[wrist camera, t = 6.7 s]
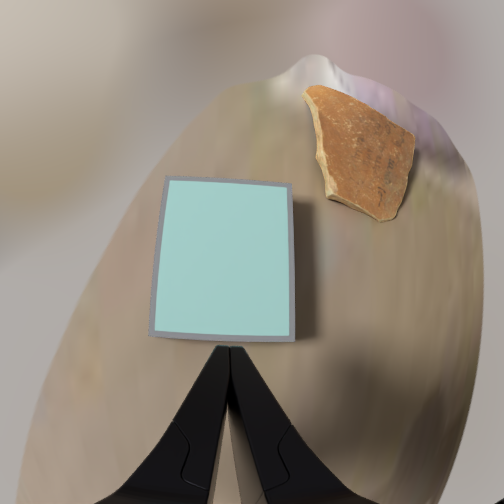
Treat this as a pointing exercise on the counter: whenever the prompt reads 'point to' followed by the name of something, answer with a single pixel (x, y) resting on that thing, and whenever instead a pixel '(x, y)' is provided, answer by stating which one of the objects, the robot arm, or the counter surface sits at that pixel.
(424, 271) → the counter surface
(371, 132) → the pottery shard
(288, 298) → the tile
